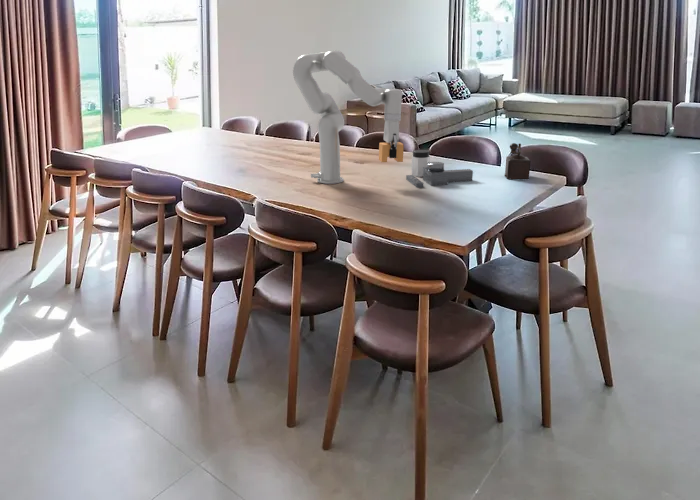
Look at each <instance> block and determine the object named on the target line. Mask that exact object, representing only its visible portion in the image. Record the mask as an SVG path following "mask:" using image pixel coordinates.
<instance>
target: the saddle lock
mask: <svg viewBox="0 0 700 500" xmlns="http://www.w3.org/2000/svg"><path fill="white" fill-rule="evenodd" d="M392 145H393V144H392ZM404 145H405V144H404V143H402V142H400V141H398V143H397V153H396V158H393V160H394V161H396V162H397V163H402V162H404V150H405V149H404ZM389 151H390V143H387V142H386V141H385V142H379V145H378V161H379V162H380V163H388V158H389Z"/></svg>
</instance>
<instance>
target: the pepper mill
mask: <svg viewBox="0 0 700 500" xmlns="http://www.w3.org/2000/svg"><path fill="white" fill-rule="evenodd" d="M509 148H510V154H511V155H510V156H506V157H505V168H504V169H505V170H504V177H505V178H506V179H507V180H513V179H529V178H530V172H531V160H530V159H529V157H528V156H524V155H523V154H521V153H522V144H521V143H515V142H513V143H510V145H509Z"/></svg>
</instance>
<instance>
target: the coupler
mask: <svg viewBox="0 0 700 500" xmlns="http://www.w3.org/2000/svg"><path fill="white" fill-rule="evenodd" d="M473 171H474V170H473V169H470V168H467V169H466V168H465V169H464V168H463V169H448V170H446V169H445V163H444V162H441V161H430V162H428V163H427V167H423V177H422V181H424V182H426V184H428V185H430V186H431V187H432V186H434V187H435V186H448V183H462V182H463V183H464V182H473V176H474V175H473V174H474V172H473ZM405 176H406V177H405V179H406V180H407V181H408V182H409V183H410V184H411V185H413V186H415V188H417V189H421V188H424V185H425V184H424V182H422V181H421V180H420V179H418V177H416V176H413V175H412V174H406V175H405Z"/></svg>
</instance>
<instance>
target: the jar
mask: <svg viewBox="0 0 700 500" xmlns="http://www.w3.org/2000/svg"><path fill="white" fill-rule="evenodd" d="M428 162H431V156H430V151H429V150H427V149H415V150H413V151H412V156H411V175H413V176H414V177H416V178H423V167H427V163H428Z"/></svg>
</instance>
